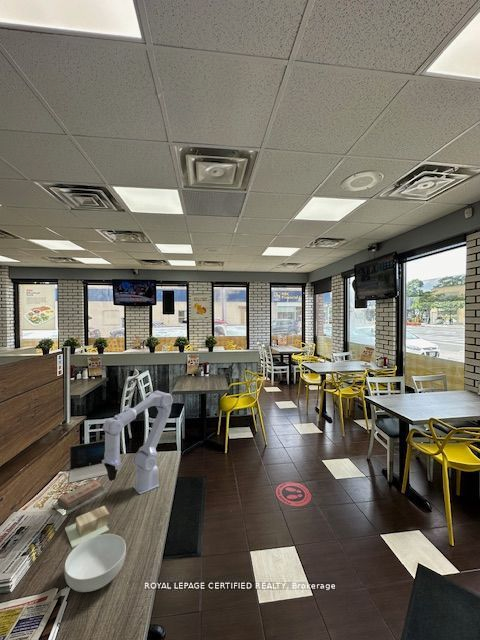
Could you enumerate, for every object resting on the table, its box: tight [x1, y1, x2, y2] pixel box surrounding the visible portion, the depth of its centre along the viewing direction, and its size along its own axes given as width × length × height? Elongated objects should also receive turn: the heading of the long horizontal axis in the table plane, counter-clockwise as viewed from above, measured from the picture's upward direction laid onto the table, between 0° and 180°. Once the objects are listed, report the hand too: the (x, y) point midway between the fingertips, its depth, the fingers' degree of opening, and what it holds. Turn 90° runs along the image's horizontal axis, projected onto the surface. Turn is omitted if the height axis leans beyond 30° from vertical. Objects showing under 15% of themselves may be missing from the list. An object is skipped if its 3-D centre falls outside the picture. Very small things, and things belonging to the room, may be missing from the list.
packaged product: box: [52, 479, 107, 515], centre depth 122 cm, size 18×5×10 cm
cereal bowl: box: [63, 533, 127, 593], centre depth 86 cm, size 17×17×7 cm
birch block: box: [75, 505, 110, 537], centre depth 106 cm, size 4×6×10 cm
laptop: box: [67, 439, 108, 484], centre depth 143 cm, size 18×12×13 cm
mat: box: [64, 522, 110, 549], centre depth 105 cm, size 12×12×1 cm
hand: (112, 479), depth 119 cm, fingers closed
